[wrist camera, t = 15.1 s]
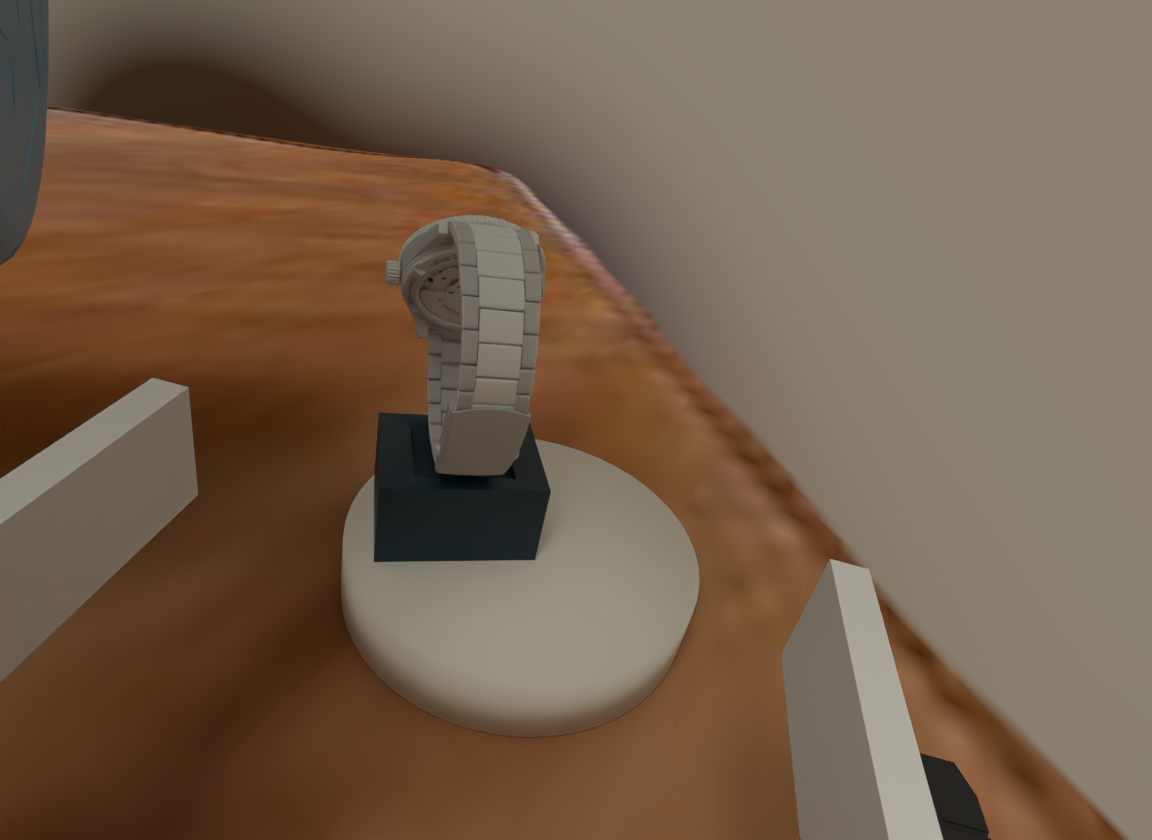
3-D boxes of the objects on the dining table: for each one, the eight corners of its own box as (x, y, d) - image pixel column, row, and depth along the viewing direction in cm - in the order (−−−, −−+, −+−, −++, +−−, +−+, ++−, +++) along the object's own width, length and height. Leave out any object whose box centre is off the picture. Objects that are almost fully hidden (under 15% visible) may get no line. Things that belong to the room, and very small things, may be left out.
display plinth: (257, 615, 24) (255, 560, 23) (465, 446, 35) (471, 402, 34) (605, 815, 21) (625, 764, 20) (717, 561, 32) (735, 517, 30)
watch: (508, 455, 31) (556, 198, 25) (544, 597, 24) (620, 294, 19) (371, 451, 29) (390, 175, 23) (370, 602, 23) (395, 271, 17)
